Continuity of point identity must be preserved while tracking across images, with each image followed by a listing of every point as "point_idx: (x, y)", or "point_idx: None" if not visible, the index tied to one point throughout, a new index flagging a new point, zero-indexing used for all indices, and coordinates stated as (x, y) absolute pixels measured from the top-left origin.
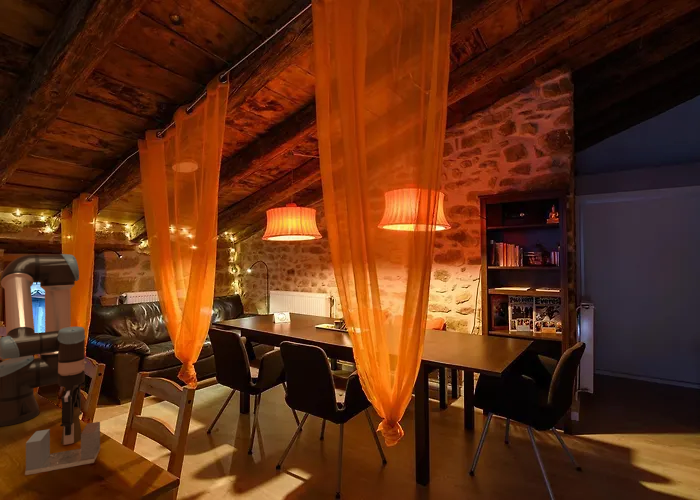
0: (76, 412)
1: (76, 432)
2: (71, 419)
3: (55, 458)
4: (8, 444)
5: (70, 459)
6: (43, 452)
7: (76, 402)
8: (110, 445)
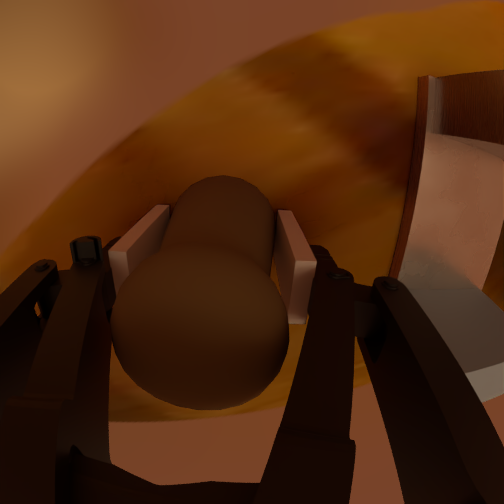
0: (264, 296)
1: (260, 214)
2: (353, 299)
3: (450, 257)
4: (169, 416)
5: (488, 199)
6: (484, 313)
7: (83, 369)
8: (398, 33)
